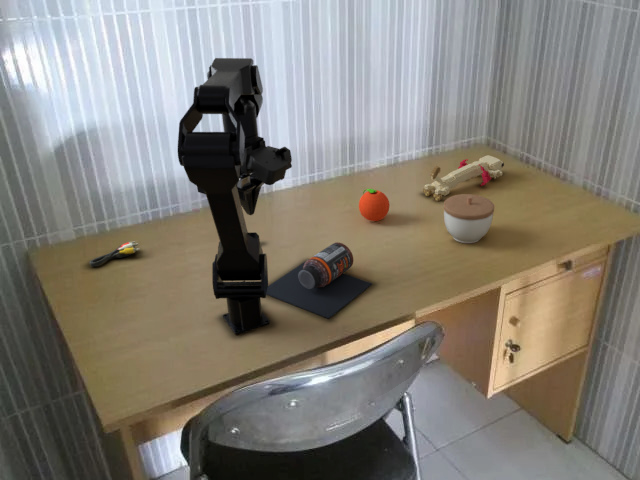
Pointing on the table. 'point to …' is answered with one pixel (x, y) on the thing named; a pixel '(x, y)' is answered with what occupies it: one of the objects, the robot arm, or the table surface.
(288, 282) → the mat
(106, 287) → the table surface
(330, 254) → the supplement bottle
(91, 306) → the table surface
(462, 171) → the beige blocky animal figure
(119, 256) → the composite cable
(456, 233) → the trinket box
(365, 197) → the clementine
